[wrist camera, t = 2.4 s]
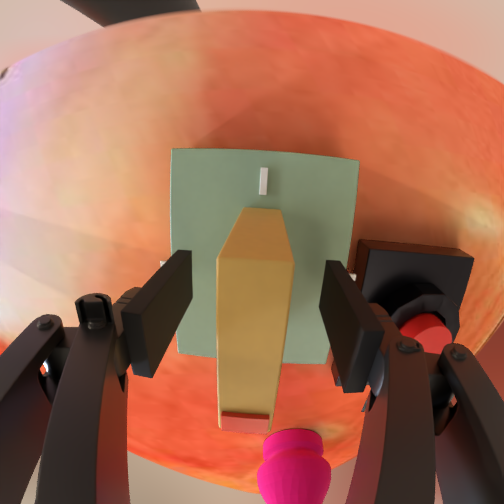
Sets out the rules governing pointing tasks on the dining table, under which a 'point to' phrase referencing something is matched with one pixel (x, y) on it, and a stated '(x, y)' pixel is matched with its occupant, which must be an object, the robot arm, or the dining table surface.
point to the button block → (412, 281)
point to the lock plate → (269, 197)
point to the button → (427, 332)
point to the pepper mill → (294, 468)
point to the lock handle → (252, 319)
